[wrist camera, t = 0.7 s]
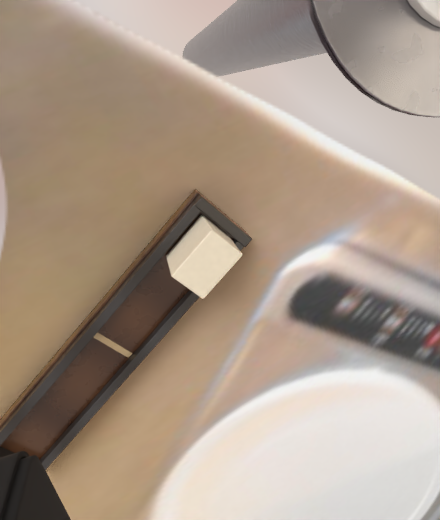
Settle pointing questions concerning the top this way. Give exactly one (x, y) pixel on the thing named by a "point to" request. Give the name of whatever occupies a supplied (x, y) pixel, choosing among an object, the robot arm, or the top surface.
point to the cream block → (202, 257)
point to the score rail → (108, 342)
